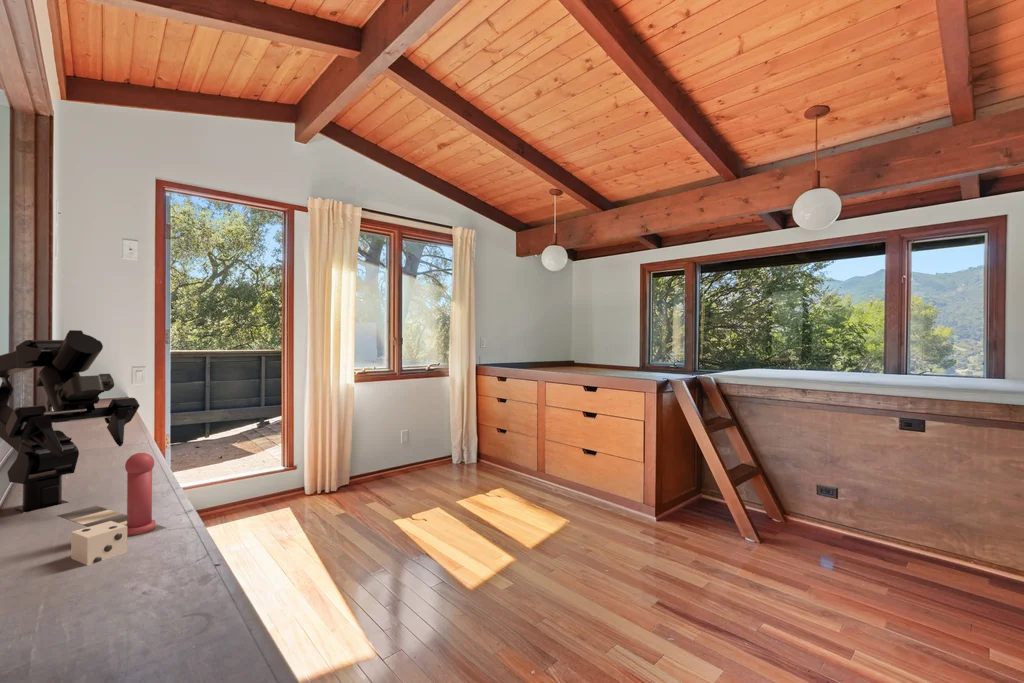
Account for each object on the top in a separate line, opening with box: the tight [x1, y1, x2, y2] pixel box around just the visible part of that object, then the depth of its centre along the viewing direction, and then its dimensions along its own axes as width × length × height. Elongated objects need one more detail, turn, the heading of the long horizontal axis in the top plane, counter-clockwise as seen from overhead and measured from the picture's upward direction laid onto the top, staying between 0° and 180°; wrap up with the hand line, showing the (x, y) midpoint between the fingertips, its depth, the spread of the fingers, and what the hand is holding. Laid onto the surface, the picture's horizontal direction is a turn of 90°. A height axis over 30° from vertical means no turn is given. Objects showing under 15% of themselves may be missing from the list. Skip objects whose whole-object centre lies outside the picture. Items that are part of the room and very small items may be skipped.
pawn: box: [124, 452, 156, 536], centre depth 82 cm, size 4×4×14 cm
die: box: [70, 521, 128, 566], centre depth 73 cm, size 5×5×5 cm
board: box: [56, 505, 167, 541], centre depth 87 cm, size 25×7×1 cm, turn 64°
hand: (92, 449), depth 90 cm, fingers open, 9 cm apart
